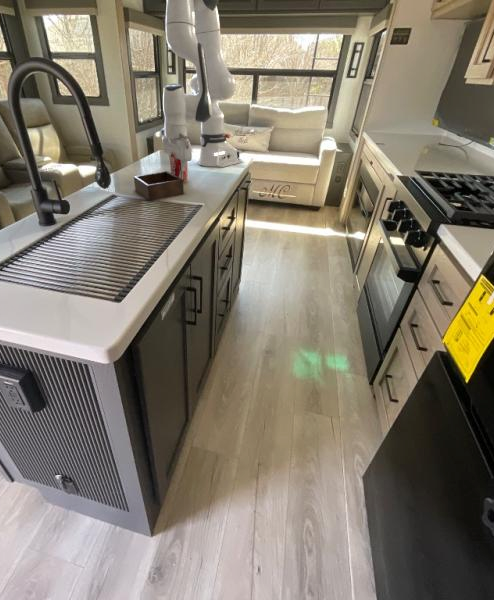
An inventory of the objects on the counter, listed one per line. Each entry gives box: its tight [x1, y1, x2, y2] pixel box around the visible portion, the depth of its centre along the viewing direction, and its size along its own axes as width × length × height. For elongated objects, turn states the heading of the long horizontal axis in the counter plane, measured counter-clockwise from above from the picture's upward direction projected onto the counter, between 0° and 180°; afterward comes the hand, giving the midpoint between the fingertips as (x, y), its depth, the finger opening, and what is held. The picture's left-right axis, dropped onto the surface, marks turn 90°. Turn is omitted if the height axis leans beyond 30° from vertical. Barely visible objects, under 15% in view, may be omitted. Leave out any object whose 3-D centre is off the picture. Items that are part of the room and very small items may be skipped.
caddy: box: [133, 170, 185, 201], centre depth 130 cm, size 15×15×6 cm
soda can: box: [169, 152, 188, 184], centre depth 139 cm, size 7×7×12 cm
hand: (178, 168), depth 139 cm, fingers open, 8 cm apart
